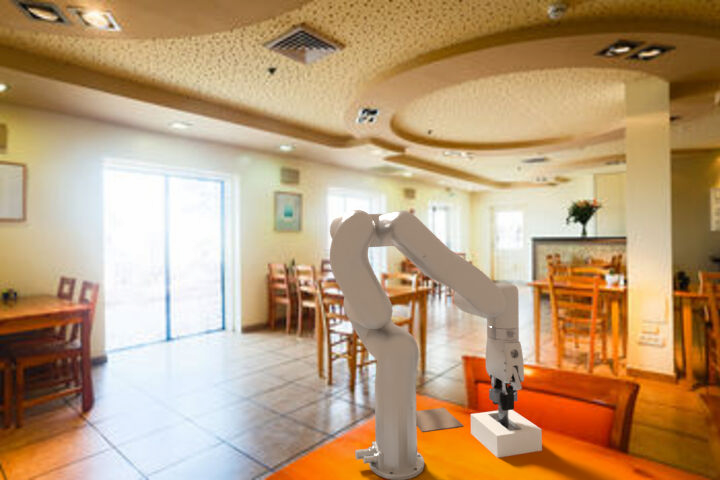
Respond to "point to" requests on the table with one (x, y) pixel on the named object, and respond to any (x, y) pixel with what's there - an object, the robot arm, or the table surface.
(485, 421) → the block
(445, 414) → the grey flat square plate
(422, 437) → the table surface
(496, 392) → the t key
